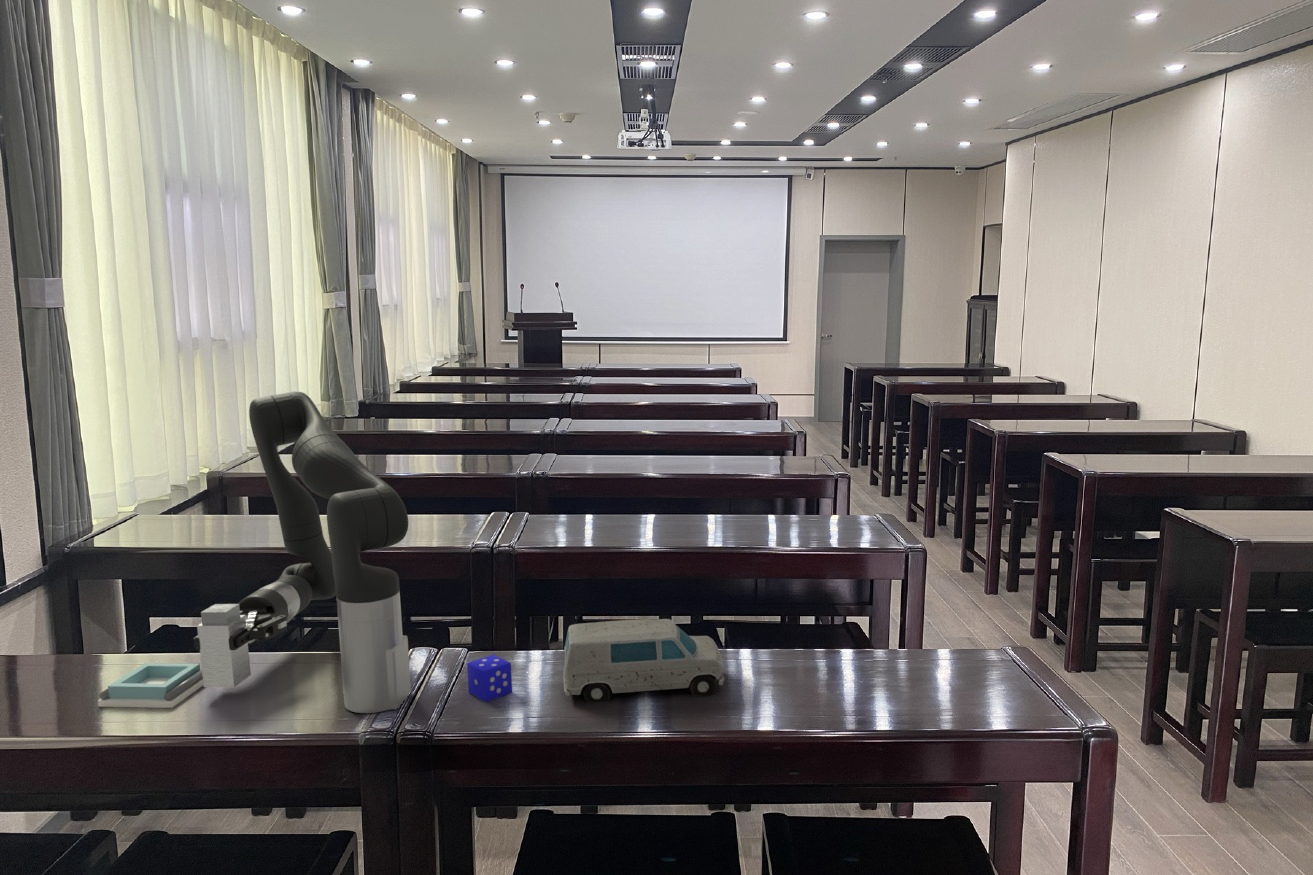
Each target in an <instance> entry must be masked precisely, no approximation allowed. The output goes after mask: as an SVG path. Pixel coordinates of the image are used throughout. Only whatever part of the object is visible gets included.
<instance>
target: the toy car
mask: <svg viewBox="0 0 1313 875" xmlns="http://www.w3.org/2000/svg"><path fill="white" fill-rule="evenodd" d="M563 648H564V666H563V691H564V693H565V696H567V697H568V696H569V697H570V696H571V695H572V696H573V695H576V696H579V695H581V692H583V699H584V700H585V701H586V703H605V702H606V703H607V702H609V701H610V700H611V692H612V694H620V693H621V694H622V693H624V694H625V693H636V692H649V691H650V692H651V691H662V690H664V691H665V690H675V689H676V690H677V689H688V688H689V690H690V693H691V695H692V696H693V697H708V696H712V695H714V693H716V690H717V689H716V688H717V684H716V681H717V683H718V685H719V686H723V685H724V681H725V678H724V674H723V672H722V670H723V668H722V667H723V660H722V655H721V652H720V649H719V647H718V645H717V643H716V642H715V641H714V639H713V638H711V637H710V636H708V635H689V634H687V633H686V632H685V631H684V630H683V629H681V627H679V626H678V625H677V624H675V622H674V621H673V620H672V619H670V618H661V619H660V618H659V619H651V618H645V619H644V618H642V619H625V620H623V619H622V620H608V621H607V620H606V621H598V622H596V621H595V622H585V623H584V622H583V623H574V624H570V625H569V626H568V629H567V634H566V639H565V643H564V647H563ZM715 680H716V681H715Z"/></svg>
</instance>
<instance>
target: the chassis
mask: <svg viewBox="0 0 1313 875" xmlns="http://www.w3.org/2000/svg"><path fill="white" fill-rule="evenodd" d="M202 687H204V685H203V675H202V668H201V663H181V662H180V663H178V662H177V663H175V662H174V663H171V662H170V663H168V662H166V663H165V662H164V663H163V662H145V663H143V664H141V665H140V666H138V667H136V668H135V669H134V670H132V671H130V672H128V673H127V674H125V675H124V676H122V677H121V678H119V679H117V680H116V681H114V682H113V683H110V684H109V685H107V688H106V689H104V690H102V691H101V692H100V693H99V695H98V696H99V699H98V700H97V704H98V705H97V706H98V707H100V708H103V707H104V708H106V707H107V708H153V709H155V708H157V709H158V708H161V709H163V708H164V709H166V708H167V709H173V708H174V707H176V706H177V705H178V704H179V703H181V702H182V701H183V700H185V699H186V698H187V697H190V696H191V695H192V694H193V693H195V692H196V691H197V690H199V689H201V688H202Z"/></svg>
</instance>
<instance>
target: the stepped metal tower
mask: <svg viewBox="0 0 1313 875" xmlns="http://www.w3.org/2000/svg"><path fill="white" fill-rule="evenodd" d="M200 617H201V618H200V619H201V622H202V623H201V622H200V623H201V624H200V623H199V624H198V625H196V629H197V628H198V633H197V636H198V637H199V643H200V650H199V655H200V667H201V669H202V675H203V688H217V689H218V688H224V689H225V688H233V689H234V688H236V687H238V685H240V684H241V683H242V682H244V681H246V680H247V678H249V677H250V676H252V673H251V672H252V671H251V663H250V662H251V661H250V652H249V643H246V644H244V645H243V646H241V647H239V648H238V649H237V650H230V649H229V638H230V636H232V635H234V634H235V633H237V632H238V631H240V630H241V629H244V627H245V626H246V620H245V615H240V607H239V603H215V604H213V605H210V606H209V607H208V608H206V609H204V610H202V611H201V612H200Z"/></svg>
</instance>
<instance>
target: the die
mask: <svg viewBox="0 0 1313 875" xmlns="http://www.w3.org/2000/svg"><path fill="white" fill-rule="evenodd" d="M466 667H467V668H466V669H467V683H468V684H467V685H468V693H469V694H471V695H472V696H474V697H476V698H478V699H480V700H481V701H483V702H489V701H492V700H494V699H495V700H496V699H498V698H500V697H504V696H506V695H510V694H512V693H513V682H512V681H513V680H512V663H511V662H509V661H508V660H505V659H504V658H501V657H499V656H497V655H496V654H491V655H488V656H485V657H482V658H479V659H476V660H472V661H469V662H467V663H466Z"/></svg>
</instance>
